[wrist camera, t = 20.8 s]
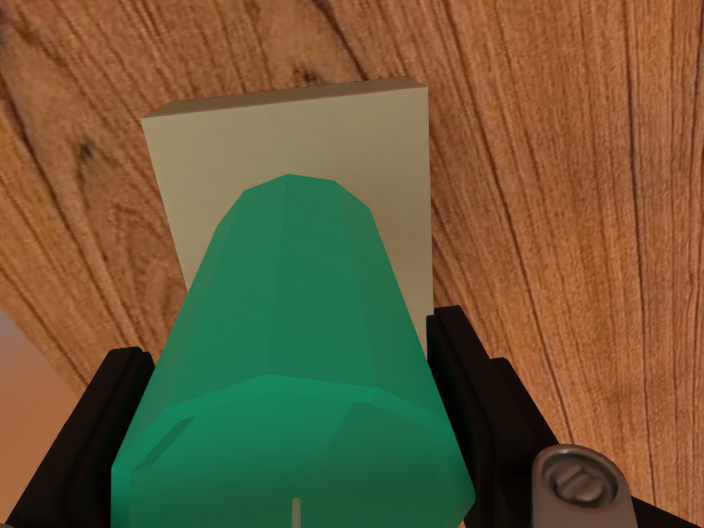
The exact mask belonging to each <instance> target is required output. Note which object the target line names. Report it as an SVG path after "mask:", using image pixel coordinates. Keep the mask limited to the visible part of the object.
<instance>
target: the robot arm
mask: <svg viewBox="0 0 704 528" xmlns="http://www.w3.org/2000/svg"><path fill="white" fill-rule="evenodd" d="M426 339H427V362H428V365H429V367H430V370H431V373H432V375H433V378H434V381H435V383H436V386H437V389H438V391H439V394H440V397H441V399H442V402H443V405H444V407H445V410H446V413H447V415H448V418H449V421H450V423H451V426H452V429H453V432H454V434H455V437H456V440H457V443H458V445H459V448H460V451H461V454H462V456H463V459H464V462H465V465H466V467H467V470H468V473H469V476H470V478H471V481H472V484H473V487H474V489H475V503H474V504H473V506H472V507H471V509H470V510H469V512H468V513H467V514H466V516H465V517H464V519H463V521H464V524H465V527H466V528H701V527H699V526H697V525H695V524H692V523H690V522H688V521H686V520H684V519H681V518H679V517H677V516H675V515H673V514H670V513H668V512H666V511H664V510H662V509H659V508H657V507H655V506H653V505H651V504H648V503H646V502H644V501H642V500H640V499H637V498H635V497H633V496H631V495H630V490H629V486H628V483H627V481H626V479H625V476H624V474H623V473H622V472H621V471H620V469H619V468H618V467H617V466H616V465H615V463H613V462H612V461H611V460H609V459H608V458H607V457H605V456H604V455H603V454H601V453H599V452H597V451H594V450H592V449H590V448H588V447H584V446H580V445H576V444H559V442H558V440H557V439H556V437H555V435H554V434H553V432H552V431H551V429H550V427H549V426H548V424H547V422H546V421H545V419H544V418H543V416H542V414H541V413H540V411H539V409H538V408H537V406H536V405H535V403H534V401H533V400H532V398H531V396H530V395H529V393H528V392H527V390H526V388H525V387H524V385H523V384H522V382H521V380H520V379H519V377H518V375H517V374H516V372H515V371H514V369H513V367H512V366H511V364H510V363H509V361H508V360H507V359H506V358H504V357H501V358H493V359H490V358H489V356H488V354H487V353H486V351H485V349H484V347H483V345H482V344H481V342H480V340H479V338H478V337H477V335H476V333H475V331H474V330H473V328H472V326H471V324H470V322H469V321H468V319H467V317H466V315H465V314H464V312H463V310H462V308H461V307H460V306H459V305H455V306H447V307H439V308H435V309H434V315H427V316H426ZM154 369H155V365H154V362H153V359H152V356H151V354H150V353H149V352H143V351H142V349H141V348H140V347H138V346H136V347H128V348H120V349H113V350H110V351H109V352H108V354H107V356H106V357H105V359H104V361H103V362H102V364H101V366H100V367H99V369H98V370H97V372H96V374H95V375H94V377H93V379H92V380H91V382H90V384H89V385H88V387H87V389H86V390H85V392H84V394H83V395H82V397H81V399H80V400H79V402H78V404H77V405H76V407H75V409H74V410H73V412H72V414H71V415H70V417H69V419H68V420H67V422H66V423H65V424H64V426H63V428H62V429H61V431H60V433H59V434H58V436H57V438H56V439H55V441H54V443H53V444H52V446H51V448H50V449H49V451H48V453H47V454H46V456H45V457H44V459H43V461H42V463H41V464H40V466H39V468H38V469H37V471H36V473H35V474H34V476H33V477H32V479H31V481H30V482H29V484H28V486H27V487H26V489H25V491H24V492H23V494H22V496H21V497H20V499H19V501H18V502H17V504H16V506H15V507H14V509H13V511H12V512H11V514H10V515H9V517H8V519H7V521H6V522H5V524H0V528H111V468H112V465H113V463H114V461H115V458H116V456H117V454H118V452H119V449H120V447H121V445H122V442H123V440H124V438H125V435H126V433H127V431H128V429H129V426H130V424H131V422H132V419H133V417H134V415H135V413H136V410H137V408H138V406H139V403H140V401H141V399H142V397H143V394H144V392H145V390H146V387H147V385H148V383H149V381H150V378H151V376H152V374H153V371H154Z"/></svg>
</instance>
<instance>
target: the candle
mask: <svg viewBox="0 0 704 528" xmlns="http://www.w3.org/2000/svg"><path fill="white" fill-rule="evenodd" d="M474 503H475V489H474V487H473V484H472V481H471V478H470V476H469V473H468V470H467V467H466V465H465V462H464V459H463V456H462V454H461V451H460V448H459V445H458V443H457V440H456V437H455V434H454V432H453V429H452V426H451V423H450V421H449V418H448V415H447V413H446V410H445V407H444V405H443V402H442V399H441V397H440V394H439V391H438V389H437V386H436V383H435V381H434V378H433V375H432V373H431V370H430V367H429V365H428V362H427V359H426V357H425V354H424V351H423V349H422V346H421V343H420V341H419V338H418V335H417V333H416V330H415V327H414V325H413V322H412V319H411V317H410V314H409V311H408V309H407V306H406V303H405V301H404V298H403V295H402V293H401V290H400V287H399V285H398V282H397V279H396V277H395V274H394V271H393V269H392V266H391V263H390V260H389V258H388V255H387V252H386V250H385V247H384V244H383V242H382V239H381V236H380V234H379V231H378V228H377V226H376V223H375V220H374V218H373V215H372V212H371V210H370V208H369V207H368V206H367V205H365V204H364V203H363V202H361V201H360V200H359V199H358V198H356V197H355V196H354V195H353V194H351V193H350V192H349V191H348V190H346V189H345V188H344V187H342V186H341V185H340V184H339V183H337V182H336V181H335V180H328V179H322V178H315V177H308V176H301V175H295V174H285V175H283V176H280V177H278V178H275V179H272V180H270V181H267V182H265V183H262V184H259V185H257V186H254V187H251V188H249V189H246V190H244V191H243V193H242V194H241V195H240V196H239V198H238V199H237V200H236V202H235V203H234V204H233V206H232V207H231V208H230V209H229V211H228V212H227V213H226V215H225V216H224V217H223V219H222V220H221V221H220V222H219V224H218V225H217V227H216V230H215V232H214V234H213V236H212V239H211V241H210V243H209V246H208V248H207V250H206V252H205V255H204V257H203V259H202V262H201V264H200V266H199V269H198V271H197V273H196V275H195V278H194V280H193V282H192V285H191V287H190V289H189V291H188V294H187V296H186V298H185V301H184V303H183V305H182V307H181V310H180V312H179V314H178V317H177V319H176V321H175V323H174V326H173V328H172V330H171V333H170V335H169V337H168V339H167V342H166V344H165V346H164V349H163V351H162V353H161V355H160V358H159V360H158V362H157V365H156V367H155V369H154V371H153V374H152V376H151V378H150V381H149V383H148V385H147V387H146V390H145V392H144V394H143V397H142V399H141V401H140V403H139V406H138V408H137V410H136V413H135V415H134V417H133V419H132V422H131V424H130V426H129V429H128V431H127V433H126V435H125V438H124V440H123V442H122V445H121V447H120V449H119V452H118V454H117V456H116V458H115V461H114V463H113V465H112V468H111V528H458V526H459V525H460V523H461V522H462V520H463V519H464V517H465V516H466V514H467V513H468V512H469V510H470V509H471V507H472V506H473V504H474Z"/></svg>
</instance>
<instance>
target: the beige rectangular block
mask: <svg viewBox="0 0 704 528" xmlns="http://www.w3.org/2000/svg"><path fill="white" fill-rule="evenodd" d="M140 121H141V125H142V129H143V132H144V136H145V140H146V143H147V147H148V150H149V154H150V158H151V161H152V165H153V168H154V172H155V176H156V179H157V183H158V187H159V190H160V194H161V197H162V201H163V205H164V208H165V212H166V216H167V219H168V223H169V226H170V230H171V234H172V237H173V241H174V245H175V248H176V252H177V255H178V259H179V263H180V266H181V270H182V273H183V277H184V281H185V284H186V288H187V292H188V291H189V289H190V287H191V285H192V282H193V280H194V278H195V275H196V273H197V271H198V269H199V266H200V264H201V262H202V259H203V257H204V255H205V252H206V250H207V248H208V246H209V243H210V241H211V239H212V236H213V234H214V232H215V230H216V227H217V225H218V224H219V222H220V221H221V220H222V219H223V217H224V216H225V215H226V213H227V212H228V211H229V209H230V208H231V207H232V206H233V204H234V203H235V202H236V200H237V199H238V198H239V196H240V195H241V194H242V193H243V191H244V190H246V189H249V188H251V187H254V186H257V185H259V184H262V183H265V182H267V181H270V180H272V179H275V178H278V177H280V176H283V175H285V174H295V175H301V176H308V177H315V178H322V179H328V180H335V181H336V182H337V183H339V184H340V185H341V186H342V187H344V188H345V189H346V190H348V191H349V192H350V193H351V194H353V195H354V196H355V197H356V198H358V199H359V200H360V201H361V202H363V203H364V204H365V205H367V206H368V207H369V208H370V210H371V212H372V215H373V218H374V220H375V223H376V226H377V228H378V231H379V234H380V236H381V239H382V242H383V244H384V247H385V250H386V252H387V255H388V258H389V260H390V263H391V266H392V269H393V271H394V274H395V277H396V279H397V282H398V285H399V287H400V290H401V293H402V295H403V298H404V301H405V303H406V306H407V309H408V311H409V314H410V317H411V319H412V322H413V325H414V327H415V330H416V333H417V335H418V338H419V341H420V343H421V346H422V349H423V351H424V354H425V357H426V359H427V339H426V316H427V315H434V314H433V273H432V231H431V189H430V148H429V106H428V87H427V86H425V85H422V84H420V83H418V82H416V81H414V80H412V79H409V78H407V77H405V76H404V77H395V78H386V79H377V80H367V81H358V82H349V83H340V84H331V85H322V86H312V87H303V88H294V89H285V90H276V91H267V92H257V93H248V94H239V95H230V96H221V97H212V98H202V99H193V100H184V101H175V102H169V103H168V104H166V105H164V106H162V107H160V108H159V109H157V110H155V111H153V112H151V113H149V114H148V115H146V116H144V117H142V118H140Z"/></svg>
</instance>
